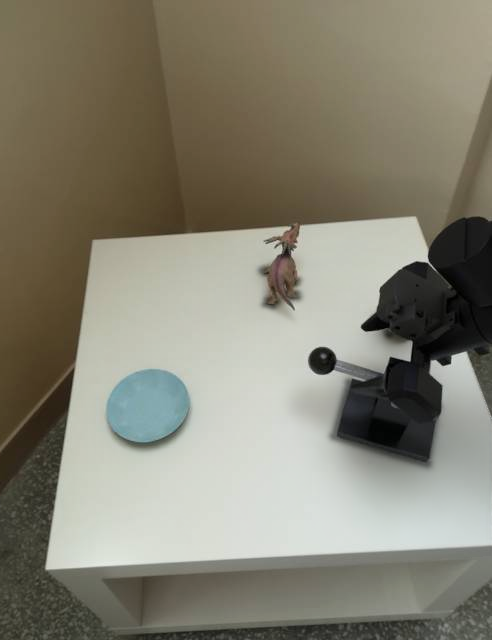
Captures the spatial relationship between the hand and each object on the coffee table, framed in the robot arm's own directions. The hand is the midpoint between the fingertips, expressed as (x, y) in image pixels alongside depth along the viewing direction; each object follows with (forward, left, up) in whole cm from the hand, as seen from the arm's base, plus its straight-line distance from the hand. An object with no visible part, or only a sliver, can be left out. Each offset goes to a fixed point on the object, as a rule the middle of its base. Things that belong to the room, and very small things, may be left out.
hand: (357, 358), depth 64 cm
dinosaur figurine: (+15, -19, -12) cm, 27 cm away
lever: (-1, 0, -4) cm, 4 cm away
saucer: (+26, +9, -12) cm, 30 cm away
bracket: (-6, 0, -12) cm, 14 cm away
